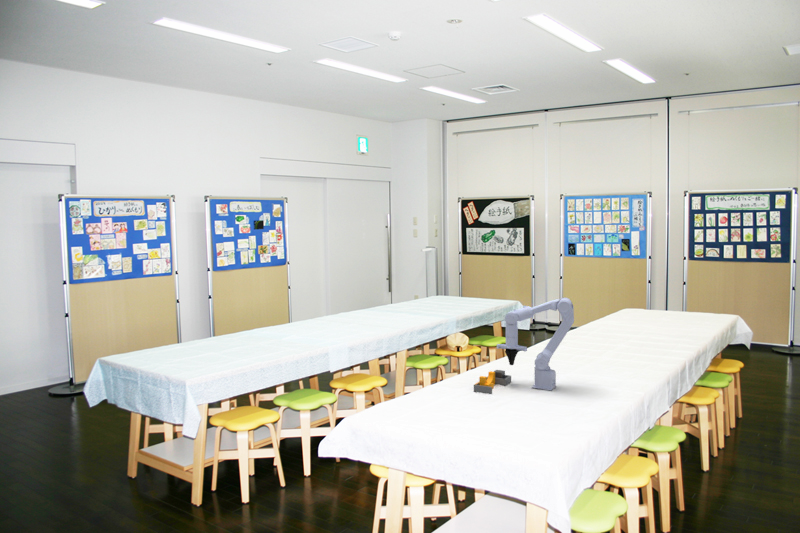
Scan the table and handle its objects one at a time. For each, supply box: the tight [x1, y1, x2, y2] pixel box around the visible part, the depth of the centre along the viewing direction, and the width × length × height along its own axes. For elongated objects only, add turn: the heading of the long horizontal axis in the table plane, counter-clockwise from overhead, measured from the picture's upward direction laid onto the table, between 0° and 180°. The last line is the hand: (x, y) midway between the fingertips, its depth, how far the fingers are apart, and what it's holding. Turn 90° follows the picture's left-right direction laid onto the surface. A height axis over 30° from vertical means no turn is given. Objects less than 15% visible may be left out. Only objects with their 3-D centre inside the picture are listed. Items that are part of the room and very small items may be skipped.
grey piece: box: [473, 369, 512, 395], centre depth 279 cm, size 10×24×6 cm, turn 149°
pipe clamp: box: [478, 370, 496, 390], centre depth 278 cm, size 12×4×6 cm, turn 147°
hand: (511, 364), depth 281 cm, fingers closed
